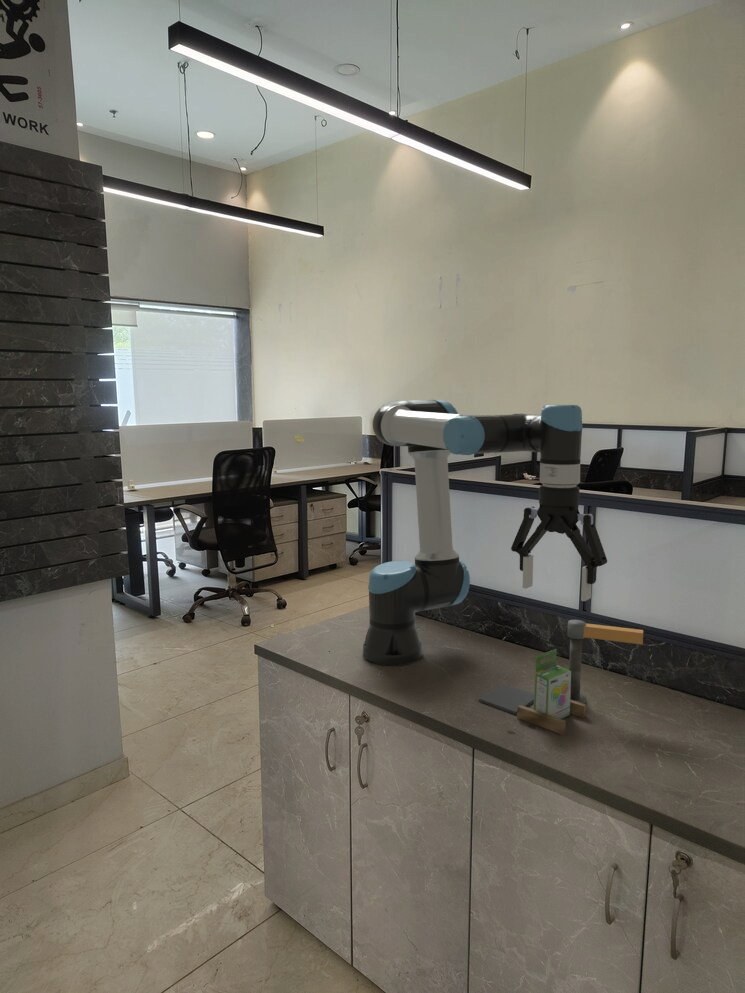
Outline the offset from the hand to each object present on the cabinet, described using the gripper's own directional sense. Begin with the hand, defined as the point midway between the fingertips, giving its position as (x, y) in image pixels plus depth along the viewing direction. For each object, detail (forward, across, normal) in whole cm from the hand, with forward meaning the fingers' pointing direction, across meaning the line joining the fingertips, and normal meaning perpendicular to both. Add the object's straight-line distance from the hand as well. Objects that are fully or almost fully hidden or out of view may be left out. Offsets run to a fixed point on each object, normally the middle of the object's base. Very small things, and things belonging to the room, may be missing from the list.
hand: (555, 593), depth 127 cm
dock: (+26, 0, +4) cm, 27 cm away
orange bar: (+12, +5, +12) cm, 18 cm away
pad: (+26, -10, +1) cm, 28 cm away
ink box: (+27, 0, 0) cm, 27 cm away
